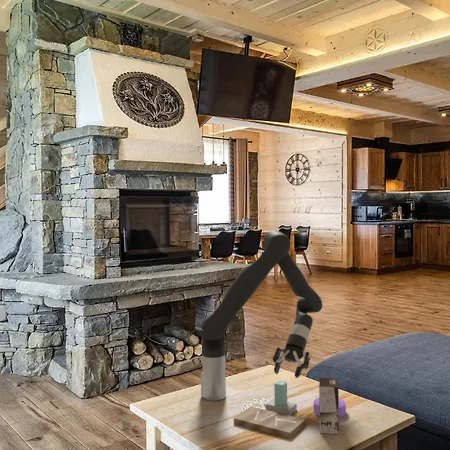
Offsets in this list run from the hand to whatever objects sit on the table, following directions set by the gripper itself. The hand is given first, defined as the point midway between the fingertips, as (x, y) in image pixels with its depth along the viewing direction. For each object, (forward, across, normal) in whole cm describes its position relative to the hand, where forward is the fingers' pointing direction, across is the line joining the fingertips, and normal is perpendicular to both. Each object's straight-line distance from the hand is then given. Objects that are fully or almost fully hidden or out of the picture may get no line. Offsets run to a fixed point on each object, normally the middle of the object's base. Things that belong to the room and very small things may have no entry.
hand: (285, 375), depth 191 cm
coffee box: (+15, +21, +2) cm, 26 cm away
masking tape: (+6, +16, +11) cm, 21 cm away
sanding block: (+12, 0, +5) cm, 13 cm away
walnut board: (+21, +2, -4) cm, 21 cm away
